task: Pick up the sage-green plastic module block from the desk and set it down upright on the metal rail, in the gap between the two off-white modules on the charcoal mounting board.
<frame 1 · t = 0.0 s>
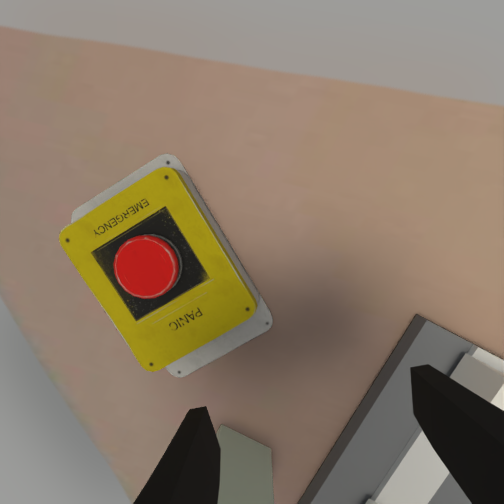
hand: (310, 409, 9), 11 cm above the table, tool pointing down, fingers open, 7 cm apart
emergency button: (177, 269, 20), on the table
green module: (226, 470, 21), on the table
rail board: (412, 447, 21), on the table
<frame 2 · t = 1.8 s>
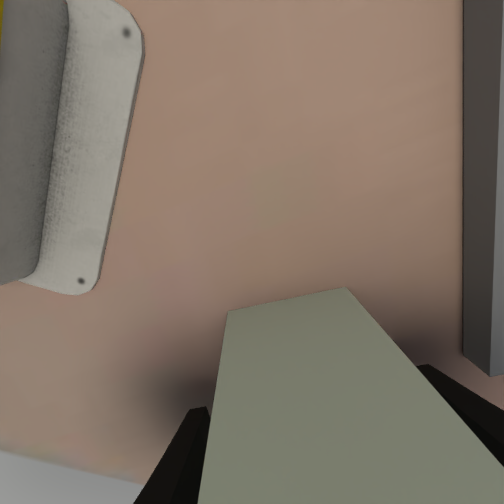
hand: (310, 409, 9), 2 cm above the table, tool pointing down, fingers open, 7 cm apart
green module: (301, 373, 11), on the table
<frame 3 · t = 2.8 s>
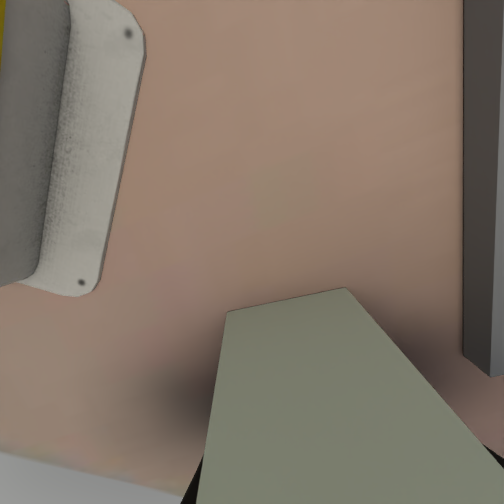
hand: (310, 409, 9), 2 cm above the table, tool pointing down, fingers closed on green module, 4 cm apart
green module: (301, 375, 11), on the table, touching gripper
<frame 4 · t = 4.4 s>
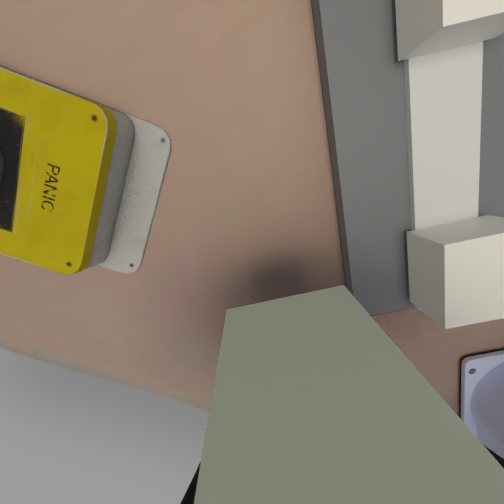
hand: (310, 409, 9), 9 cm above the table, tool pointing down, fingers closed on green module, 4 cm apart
emergency button: (38, 166, 16), on the table
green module: (300, 372, 11), point 7 cm above the table, touching gripper
rail board: (426, 147, 15), on the table
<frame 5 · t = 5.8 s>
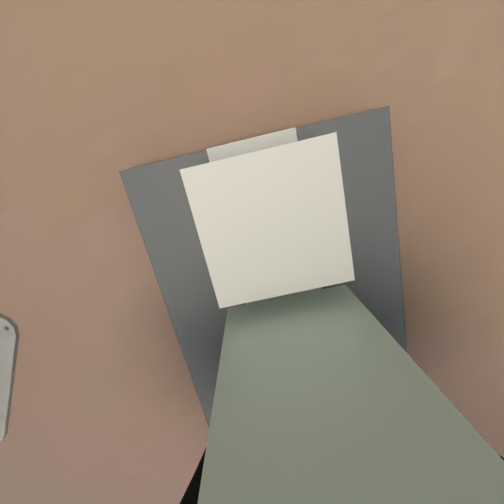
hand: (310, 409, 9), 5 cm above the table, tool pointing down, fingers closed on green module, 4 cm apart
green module: (300, 371, 11), point 3 cm above the table, touching gripper
rail board: (289, 327, 14), on the table
when the fingers open (4 cm above the table, at t = 6.5 s): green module stays where it is, resting on rail board.
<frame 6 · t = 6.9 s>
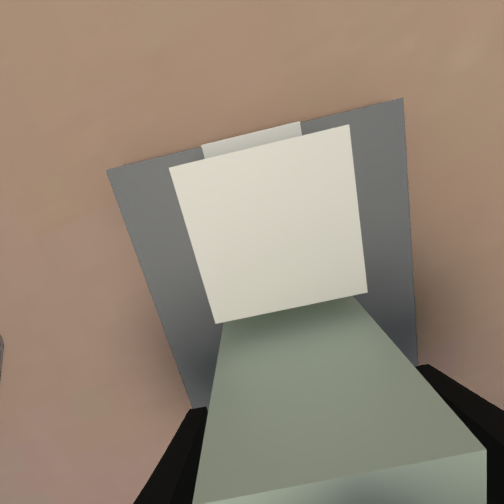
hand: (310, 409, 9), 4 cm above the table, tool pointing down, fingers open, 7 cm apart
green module: (297, 358, 12), point 2 cm above the table, touching rail board
rail board: (291, 337, 13), on the table
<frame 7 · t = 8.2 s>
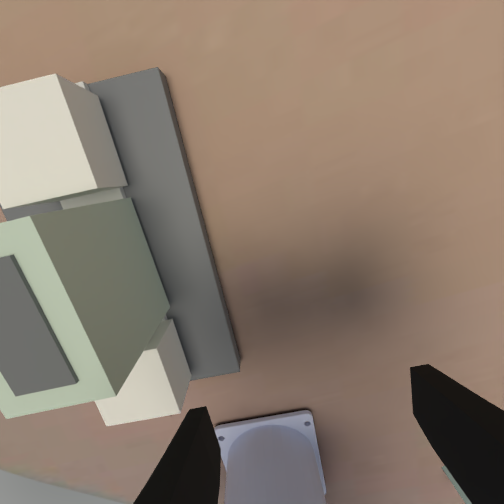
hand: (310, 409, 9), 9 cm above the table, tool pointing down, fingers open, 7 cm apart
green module: (116, 263, 16), point 2 cm above the table, touching rail board
rail board: (127, 256, 17), on the table
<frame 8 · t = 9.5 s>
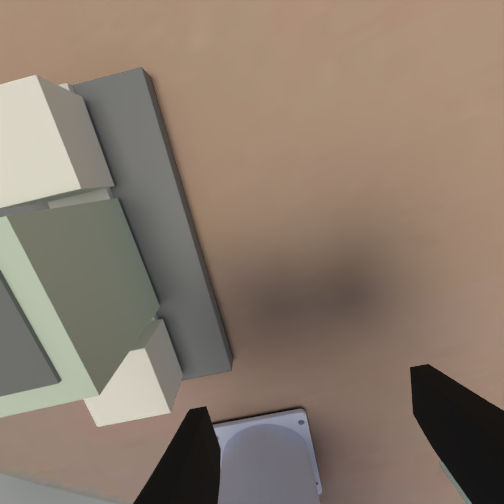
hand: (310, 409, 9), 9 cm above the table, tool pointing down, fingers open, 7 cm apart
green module: (104, 264, 16), point 2 cm above the table, touching rail board
rail board: (117, 257, 17), on the table
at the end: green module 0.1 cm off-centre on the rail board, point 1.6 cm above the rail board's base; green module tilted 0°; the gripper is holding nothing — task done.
